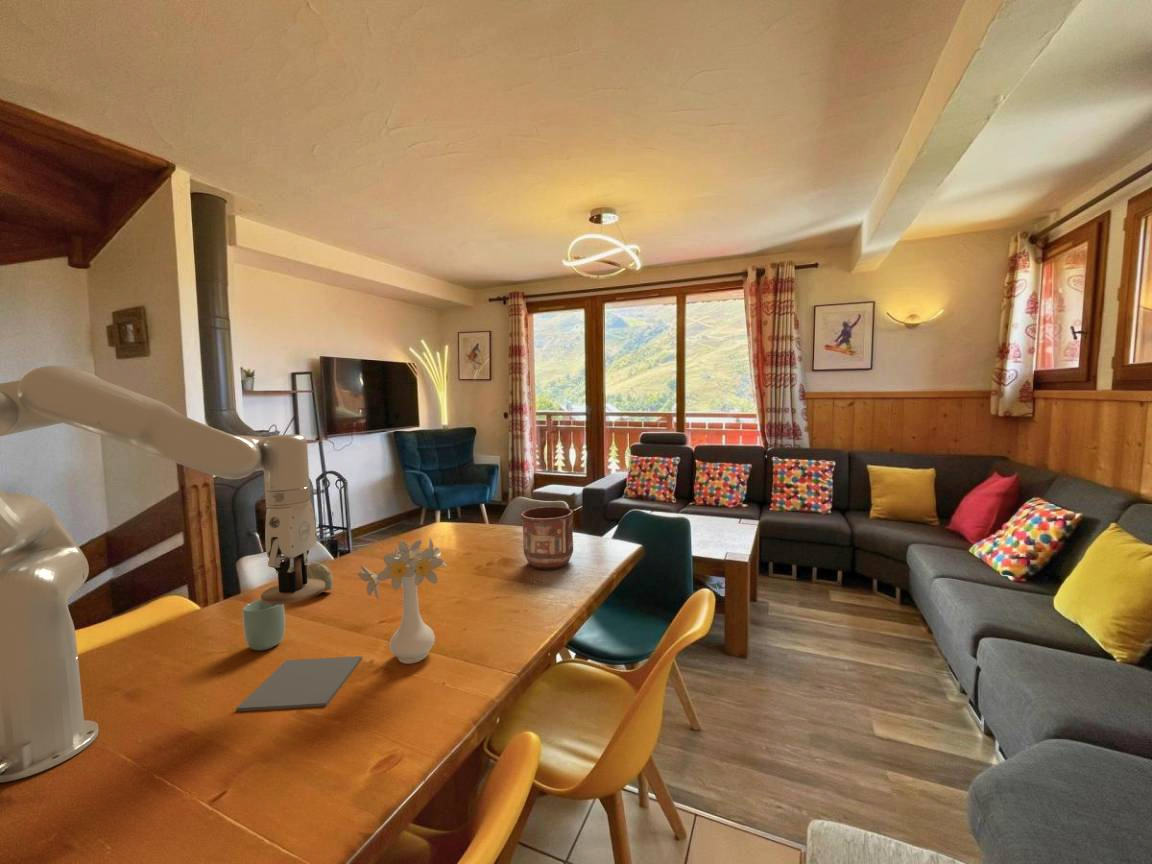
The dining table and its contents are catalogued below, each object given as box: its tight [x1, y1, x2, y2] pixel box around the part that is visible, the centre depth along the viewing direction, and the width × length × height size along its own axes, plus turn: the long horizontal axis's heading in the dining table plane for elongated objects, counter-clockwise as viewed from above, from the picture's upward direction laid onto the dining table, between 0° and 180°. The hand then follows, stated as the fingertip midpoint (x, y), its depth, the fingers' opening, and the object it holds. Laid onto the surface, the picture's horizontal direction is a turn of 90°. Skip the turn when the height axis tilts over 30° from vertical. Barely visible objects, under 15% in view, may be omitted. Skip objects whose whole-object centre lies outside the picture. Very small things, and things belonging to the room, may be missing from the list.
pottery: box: [520, 505, 574, 571], centre depth 158 cm, size 18×18×18 cm
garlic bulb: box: [306, 561, 335, 593], centre depth 138 cm, size 9×8×10 cm
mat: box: [235, 655, 363, 712], centre depth 93 cm, size 16×16×1 cm
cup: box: [242, 598, 286, 652], centre depth 108 cm, size 8×8×10 cm
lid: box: [260, 557, 325, 605], centre depth 93 cm, size 11×11×7 cm
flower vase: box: [357, 537, 448, 665], centre depth 100 cm, size 13×18×25 cm
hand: (293, 587), depth 93 cm, fingers closed on lid, 3 cm apart
